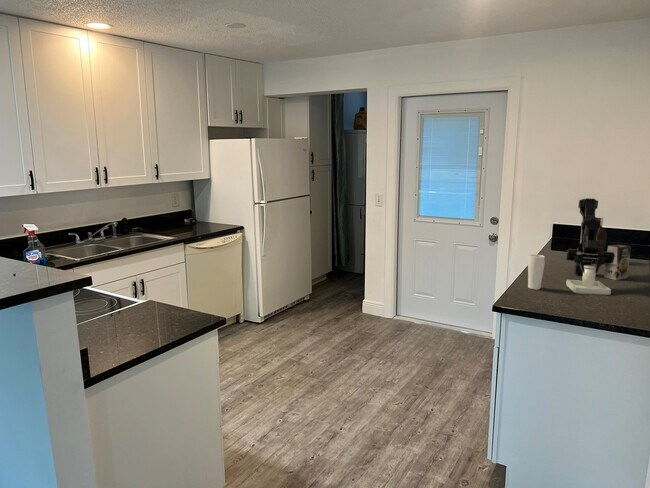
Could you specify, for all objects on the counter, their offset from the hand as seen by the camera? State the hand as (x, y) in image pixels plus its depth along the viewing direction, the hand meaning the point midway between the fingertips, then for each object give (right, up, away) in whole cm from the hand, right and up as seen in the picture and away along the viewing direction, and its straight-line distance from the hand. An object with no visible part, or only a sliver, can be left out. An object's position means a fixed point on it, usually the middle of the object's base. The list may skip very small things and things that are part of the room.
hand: (589, 272), depth 219 cm
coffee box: (+26, -4, +24) cm, 36 cm away
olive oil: (+33, +2, +59) cm, 68 cm away
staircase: (+49, +8, +91) cm, 104 cm away
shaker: (+1, -6, +2) cm, 7 cm away
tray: (0, -8, +3) cm, 9 cm away
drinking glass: (-23, -8, +5) cm, 24 cm away
